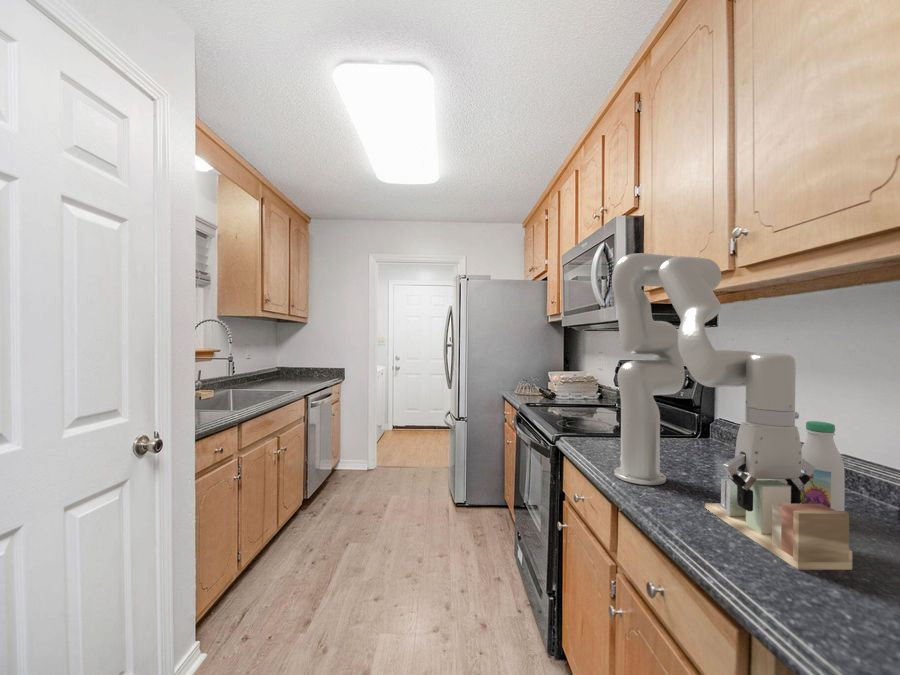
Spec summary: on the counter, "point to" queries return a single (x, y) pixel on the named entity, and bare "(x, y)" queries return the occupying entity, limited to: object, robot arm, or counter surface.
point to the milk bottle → (823, 467)
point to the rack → (801, 535)
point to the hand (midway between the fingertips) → (768, 508)
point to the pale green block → (766, 503)
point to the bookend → (730, 499)
